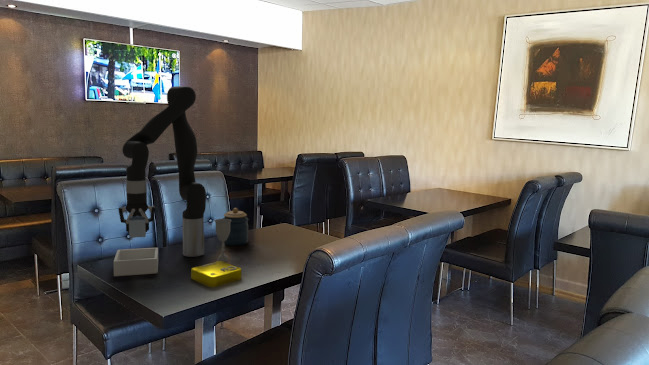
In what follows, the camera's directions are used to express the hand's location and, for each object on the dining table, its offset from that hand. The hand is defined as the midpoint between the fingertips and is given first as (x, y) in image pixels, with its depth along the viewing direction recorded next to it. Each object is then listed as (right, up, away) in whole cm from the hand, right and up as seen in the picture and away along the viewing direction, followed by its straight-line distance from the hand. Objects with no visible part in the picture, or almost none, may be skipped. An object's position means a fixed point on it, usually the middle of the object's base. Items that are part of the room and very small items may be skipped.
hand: (137, 231), depth 189 cm
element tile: (+33, -18, -5) cm, 38 cm away
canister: (+31, -10, +46) cm, 56 cm away
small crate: (0, -1, 0) cm, 1 cm away
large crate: (-1, -15, +3) cm, 16 cm away
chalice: (+31, -14, +17) cm, 38 cm away
